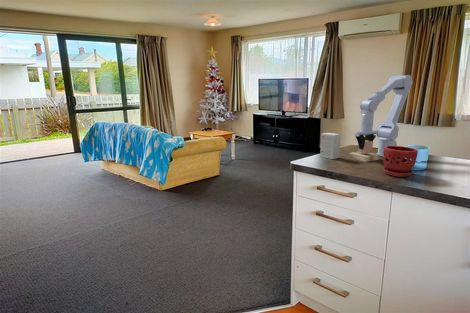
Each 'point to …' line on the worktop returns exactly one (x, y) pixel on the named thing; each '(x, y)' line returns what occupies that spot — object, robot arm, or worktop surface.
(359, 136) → the robot arm
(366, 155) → the beige shallow dish
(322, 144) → the small box
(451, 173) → the worktop surface
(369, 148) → the clay block
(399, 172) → the plant pot
